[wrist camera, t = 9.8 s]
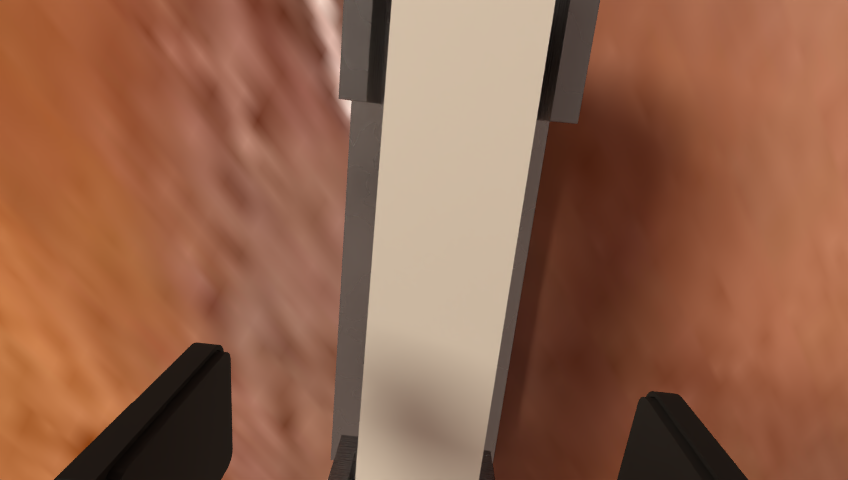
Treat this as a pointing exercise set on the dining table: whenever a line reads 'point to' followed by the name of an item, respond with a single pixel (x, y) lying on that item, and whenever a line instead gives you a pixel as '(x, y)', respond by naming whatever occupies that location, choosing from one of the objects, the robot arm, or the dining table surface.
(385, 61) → the bracket stand
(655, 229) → the dining table surface
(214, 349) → the robot arm
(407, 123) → the rail
